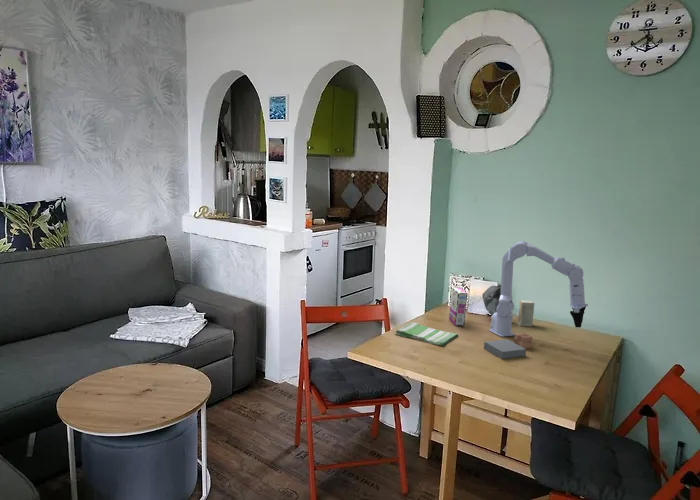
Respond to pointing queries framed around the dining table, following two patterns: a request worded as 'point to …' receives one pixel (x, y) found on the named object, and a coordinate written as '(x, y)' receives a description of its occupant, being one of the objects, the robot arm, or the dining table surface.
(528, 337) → the terracotta cube
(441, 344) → the dish towel
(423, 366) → the dining table surface
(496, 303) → the gray rock
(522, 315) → the skincare box
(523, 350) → the slate block
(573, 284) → the robot arm
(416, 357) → the dining table surface
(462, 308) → the candy bar box
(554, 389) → the dining table surface
